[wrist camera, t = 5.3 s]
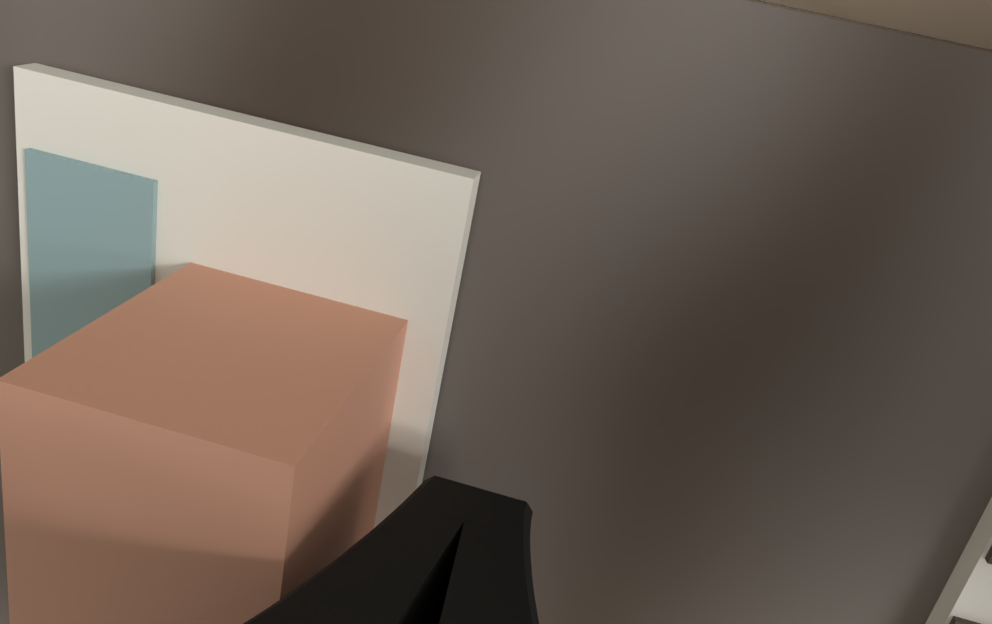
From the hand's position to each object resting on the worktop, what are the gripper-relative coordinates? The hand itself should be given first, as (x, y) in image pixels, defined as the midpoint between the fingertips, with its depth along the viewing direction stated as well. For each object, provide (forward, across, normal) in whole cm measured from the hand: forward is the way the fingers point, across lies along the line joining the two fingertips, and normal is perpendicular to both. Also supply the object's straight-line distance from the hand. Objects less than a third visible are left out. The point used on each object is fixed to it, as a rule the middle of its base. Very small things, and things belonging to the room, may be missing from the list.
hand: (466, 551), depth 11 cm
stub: (+1, +4, 0) cm, 4 cm away
